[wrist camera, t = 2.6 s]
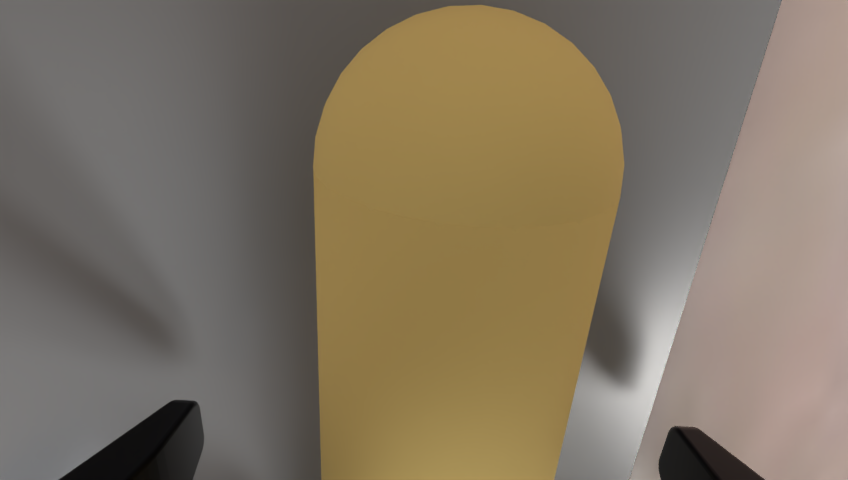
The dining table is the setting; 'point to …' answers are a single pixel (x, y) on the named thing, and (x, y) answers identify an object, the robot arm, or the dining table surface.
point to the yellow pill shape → (459, 246)
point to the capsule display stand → (296, 214)
